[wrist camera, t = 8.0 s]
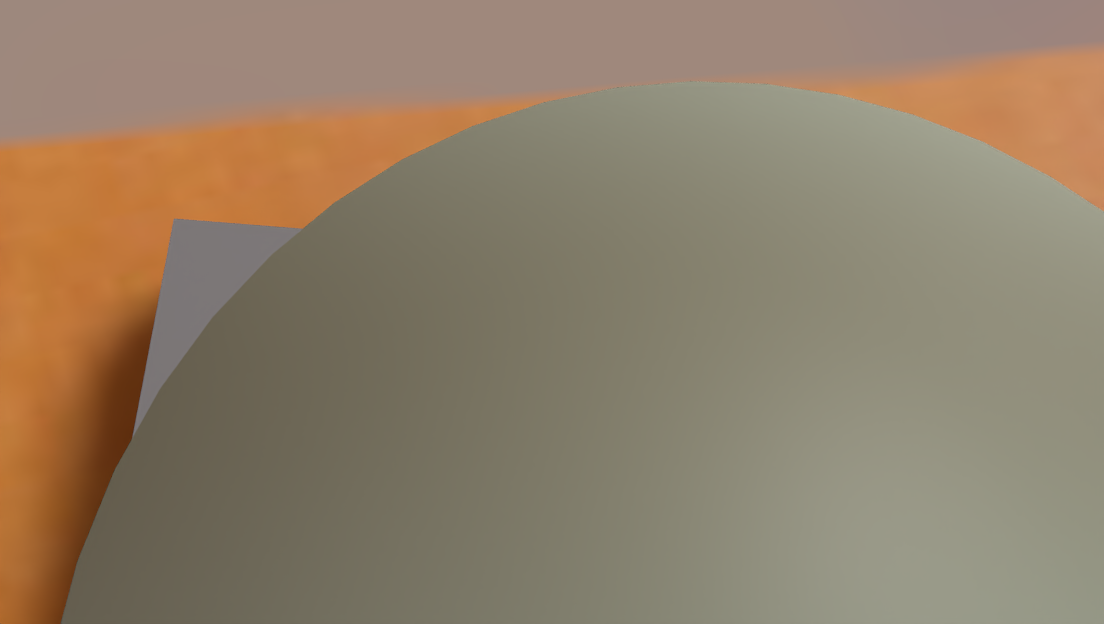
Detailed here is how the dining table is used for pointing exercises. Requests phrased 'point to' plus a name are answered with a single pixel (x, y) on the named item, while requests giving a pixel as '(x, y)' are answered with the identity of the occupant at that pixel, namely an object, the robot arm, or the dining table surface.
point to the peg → (640, 386)
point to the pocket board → (200, 288)
